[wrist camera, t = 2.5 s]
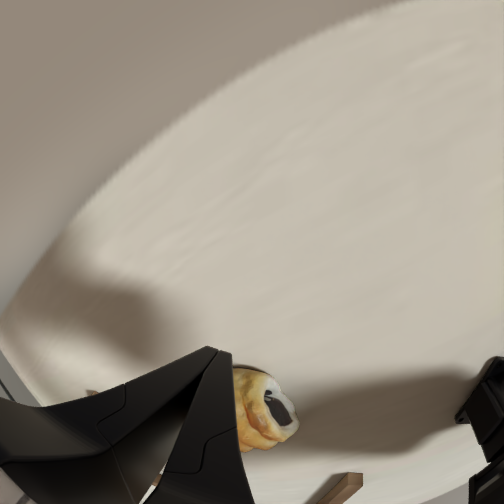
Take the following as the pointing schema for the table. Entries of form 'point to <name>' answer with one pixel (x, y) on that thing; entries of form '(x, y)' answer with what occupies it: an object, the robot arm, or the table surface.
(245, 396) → the pastry
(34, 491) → the robot arm
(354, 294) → the table surface
